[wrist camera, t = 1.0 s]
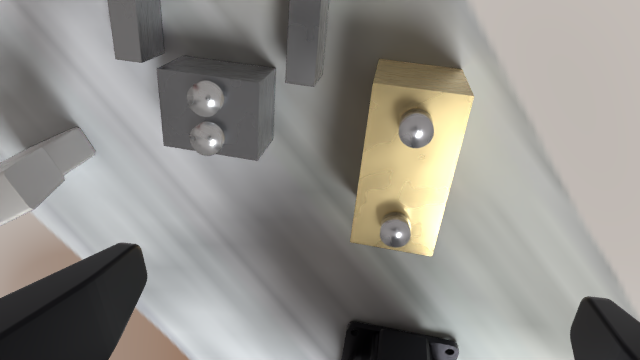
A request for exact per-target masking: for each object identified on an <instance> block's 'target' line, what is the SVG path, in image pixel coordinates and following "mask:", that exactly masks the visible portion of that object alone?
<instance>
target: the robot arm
mask: <svg viewBox="0 0 640 360" xmlns="http://www.w3.org/2000/svg"><path fill="white" fill-rule="evenodd" d="M146 282H147V270H146V266H145V262H144V258H143V254H142V250H141V248H140V246H139V245H137V244H131V243H118V244H116V245H114V246H111V247H109V248H107V249H105V250H103V251H101V252H99V253H96V254H94V255H92V256H90V257H88V258H86V259H83V260H81V261H79V262H77V263H75V264H73V265H71V266H69V267H66V268H64V269H62V270H60V271H58V272H56V273H53V274H51V275H49V276H47V277H45V278H43V279H41V280H38V281H36V282H34V283H32V284H30V285H28V286H26V287H23V288H21V289H19V290H17V291H15V292H12V293H10V294H8V295H6V296H4V297H2V298H0V360H108V359H109V358H110V356H111V354H112V352H113V351H114V349H115V347H116V345H117V343H118V341H119V339H120V338H121V336H122V333H123V331H124V329H125V327H126V325H127V323H128V321H129V319H130V317H131V314H132V312H133V310H134V308H135V306H136V304H137V302H138V300H139V298H140V295H141V293H142V291H143V289H144V287H145V285H146ZM354 330H357V331H354ZM570 339H571V344H572V349H573V354H574V358H575V360H640V322H639V321H637V320H636V319H635V318H633V317H632V316H631V315H630V314H628V313H627V312H626V311H624V310H623V309H622V308H620V307H619V306H618V305H617V304H615V303H614V302H613V301H611V300H609V299H606V298H598V297H589V296H588V297H585V298H583V299H582V301H581V302H580V305H579V308H578V310H577V313H576V315H575V318H574V321H573V323H572V326H571V330H570ZM448 349H451V350H448ZM458 354H459V349H458V345H457V343H455V342H454V341H451V340H446V339H441V338H436V337H431V336H426V335H421V334H416V333H411V332H406V331H401V330H396V329H391V328H386V327H381V326H376V325H371V324H366V323H360V322H350V323H349V324H348V326H347V331H346V337H345V343H344V349H343V355H342V360H457V357H458Z"/></svg>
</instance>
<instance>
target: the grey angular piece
mask: <svg viewBox="0 0 640 360" xmlns="http://www.w3.org/2000/svg"><path fill="white" fill-rule="evenodd" d="M94 155H95V150H94V148H93V147H92V145H91V144H90V142H89V141H88V139H87V138H86V136H85V135H84V133H83V132H82V130H81V129H80V128H78V127H74V128H72V129H70V130H67V131H65V132H63V133H61V134H59V135H56V136H54V137H52V138H50V139H47V140H45V141H43V142H41V143H38V144H36V145H34V146H32V147H30V148H27V149H25V150H24V151H22V152H20V153H18V154H16V155H14V156H12V157H10V158H8V159H6V160H4V161H3V162H1V163H0V226H1V225H4V224H6V223H8V222H10V221H12V220H14V219H16V218H18V217H20V216H22V215H24V214H26V213H28V212H30V211H32V210H34V209H35V208H36V207H37V206H38V205H40V204H41V203H42V202H43V201H44V200H45V199H46V198H47V197H48V196H49V195H50V194H51V193H52V192H53V191H54V190H55V189H56V188H57V187H58V186H59V185H61V184H62V183H63V182H64V181H65V179H64V175H65V174H67V173H68V172H70V171H71V170H73V169H74V168H76V167H77V166H79V165H80V164H82V163H83V162H85V161H87V160H88V159H90V158H91V157H93V156H94Z"/></svg>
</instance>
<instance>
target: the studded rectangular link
mask: <svg viewBox="0 0 640 360" xmlns="http://www.w3.org/2000/svg"><path fill="white" fill-rule="evenodd" d="M108 7H109V15H110V22H111V29H112V37H113V44H114V51H115V59H117V60H125V61H132V62H139V63H143V62H145V61H147V60H150V59H152V58H154V57H157V56H159V55H161V54H164V41H163V29H162V17H161V5H160V0H108ZM328 8H329V0H289V20H288V40H287V60H286V80H285V83H290V84H297V85H304V86H311V87H314V86H315V85H316V83H317V82H318V80H319V79H320V77H321V76H322V74H323V63H324V52H325V41H326V30H327V19H328ZM275 75H276V68H271V67H263V66H256V65H249V64H241V63H234V62H226V61H219V60H212V59H204V58H197V57H190V56H182V57H180V58H178V59H176V60H174V61H172V62H170V63H167V64H165V65H163V66H161V67H159V68H157V77H158V87H159V98H160V109H161V120H162V131H163V142H164V146H169V147H175V148H182V149H188V150H194V151H197V152H198V153H199V154H201V155H205V156H212V155H214V154H219V155H225V156H231V157H237V158H244V159H250V160H256V161H258V160H259V158H260V157H261V155H262V154H263V153H264V151H265V150H266V148H267V147H268V146H269V144H270V143H271V141H272V140H273V126H274V100H275Z"/></svg>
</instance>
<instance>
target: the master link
mask: <svg viewBox="0 0 640 360" xmlns="http://www.w3.org/2000/svg"><path fill="white" fill-rule="evenodd" d="M473 99H474V95H473V93H472V91H471V88H470V86H469V84H468V82H467V79H466V77H465V75H464V73H463V70H462V69H456V68H449V67H441V66H433V65H425V64H417V63H409V62H401V61H393V60H385V59H379V61H378V65H377V69H376V73H375V77H374V81H373V86H372V93H371V100H370V107H369V114H368V121H367V128H366V135H365V142H364V149H363V155H362V162H361V169H360V176H359V183H358V190H357V197H356V204H355V211H354V218H353V224H352V231H351V238H350V242H351V243H357V244H363V245H369V246H374V247H380V248H386V249H392V250H397V251H403V252H409V253H415V254H420V255H426V256H432V255H433V251H434V247H435V243H436V240H437V236H438V232H439V228H440V224H441V221H442V217H443V213H444V209H445V205H446V201H447V198H448V194H449V190H450V186H451V182H452V179H453V175H454V171H455V167H456V163H457V160H458V156H459V152H460V148H461V144H462V140H463V137H464V133H465V129H466V125H467V121H468V118H469V114H470V110H471V106H472V102H473Z"/></svg>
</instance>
